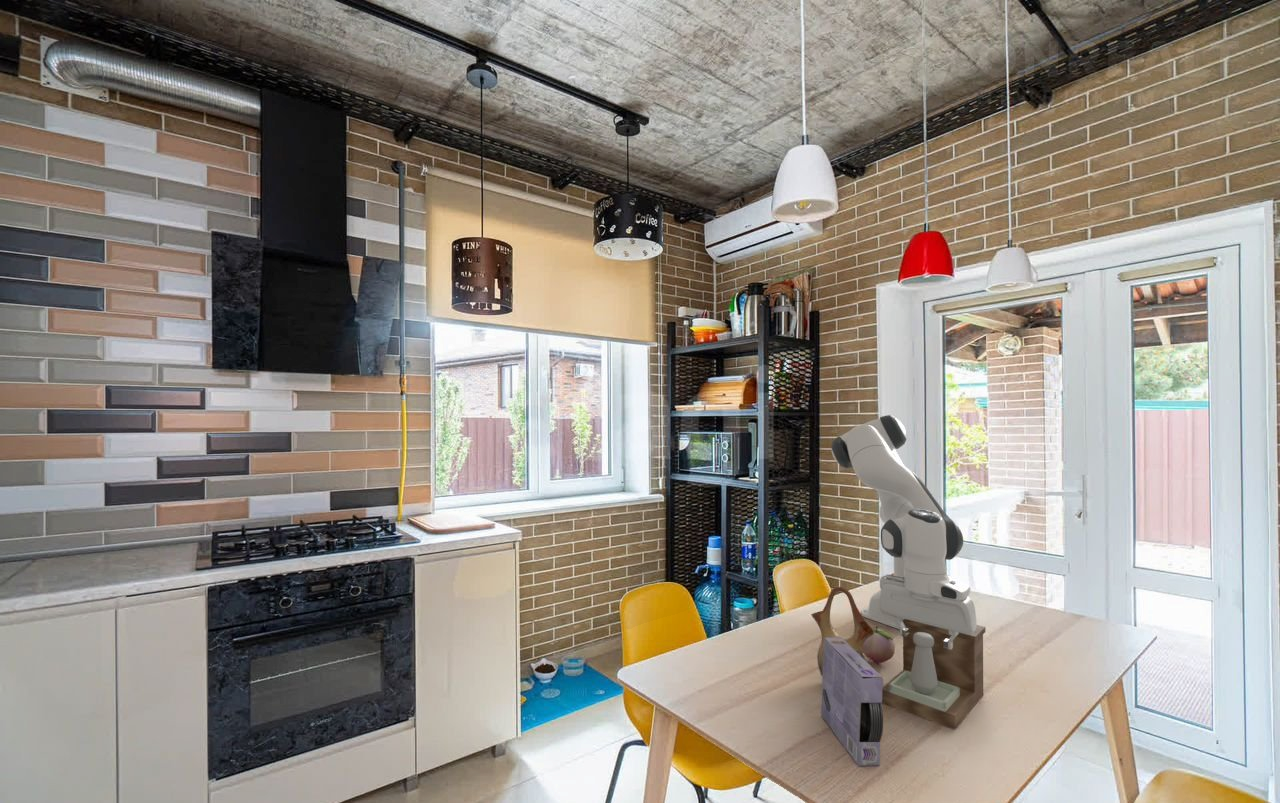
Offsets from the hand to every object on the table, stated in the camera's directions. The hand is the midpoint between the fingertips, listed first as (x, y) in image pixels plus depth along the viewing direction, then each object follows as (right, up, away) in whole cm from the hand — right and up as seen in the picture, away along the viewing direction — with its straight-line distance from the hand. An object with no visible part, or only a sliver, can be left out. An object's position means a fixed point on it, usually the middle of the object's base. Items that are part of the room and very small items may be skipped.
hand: (925, 642), depth 130 cm
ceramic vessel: (-17, -15, +8) cm, 24 cm away
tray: (0, -12, 0) cm, 12 cm away
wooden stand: (+4, -15, +4) cm, 16 cm away
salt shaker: (-1, -12, 0) cm, 12 cm away
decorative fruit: (-2, -15, +23) cm, 27 cm away
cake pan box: (-22, -15, -13) cm, 30 cm away
